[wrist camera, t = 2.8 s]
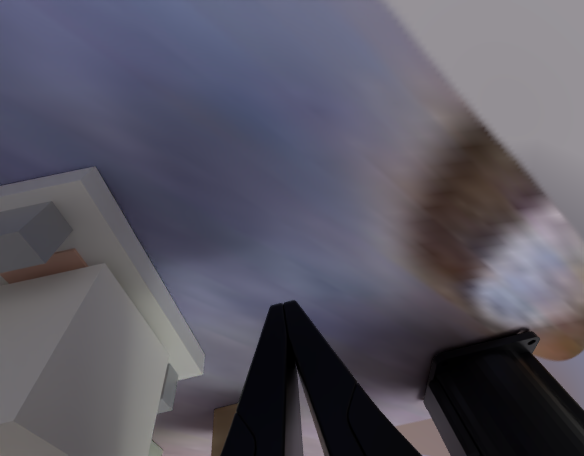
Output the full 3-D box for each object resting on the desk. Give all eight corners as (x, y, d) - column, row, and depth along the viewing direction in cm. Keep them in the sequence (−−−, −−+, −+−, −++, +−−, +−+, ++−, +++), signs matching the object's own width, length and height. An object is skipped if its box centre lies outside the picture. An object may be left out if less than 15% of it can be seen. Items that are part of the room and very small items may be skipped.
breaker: (104, 262, 9) (5, 433, 5) (169, 354, 12) (136, 507, 8) (-29, 292, 9) (-234, 490, 5) (69, 378, 12) (-13, 546, 8)
